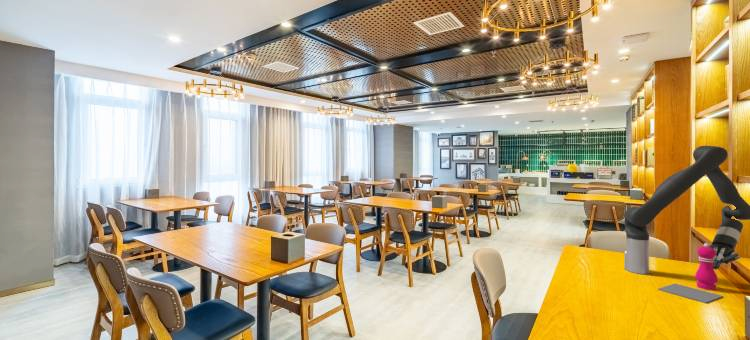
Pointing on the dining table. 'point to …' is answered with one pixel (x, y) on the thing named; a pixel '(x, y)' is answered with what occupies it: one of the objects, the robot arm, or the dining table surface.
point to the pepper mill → (706, 268)
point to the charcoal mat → (690, 293)
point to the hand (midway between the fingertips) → (713, 268)
